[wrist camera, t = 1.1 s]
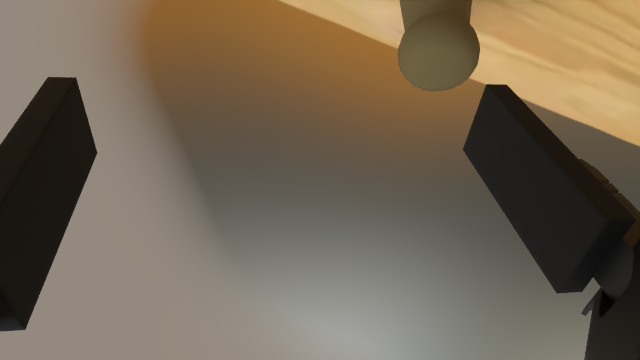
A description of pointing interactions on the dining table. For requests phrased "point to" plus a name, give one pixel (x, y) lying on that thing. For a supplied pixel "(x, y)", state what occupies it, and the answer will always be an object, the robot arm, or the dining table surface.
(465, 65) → the brown game pawn
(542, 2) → the dining table surface
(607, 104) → the dining table surface
